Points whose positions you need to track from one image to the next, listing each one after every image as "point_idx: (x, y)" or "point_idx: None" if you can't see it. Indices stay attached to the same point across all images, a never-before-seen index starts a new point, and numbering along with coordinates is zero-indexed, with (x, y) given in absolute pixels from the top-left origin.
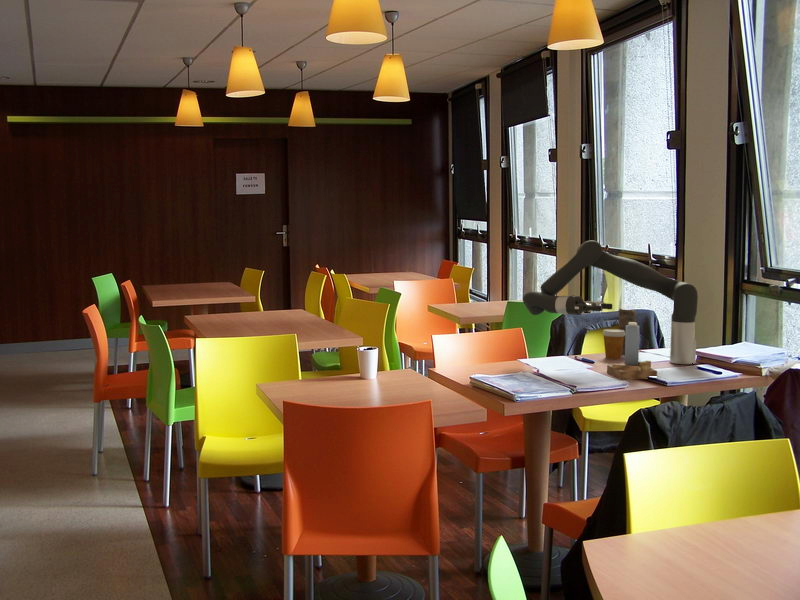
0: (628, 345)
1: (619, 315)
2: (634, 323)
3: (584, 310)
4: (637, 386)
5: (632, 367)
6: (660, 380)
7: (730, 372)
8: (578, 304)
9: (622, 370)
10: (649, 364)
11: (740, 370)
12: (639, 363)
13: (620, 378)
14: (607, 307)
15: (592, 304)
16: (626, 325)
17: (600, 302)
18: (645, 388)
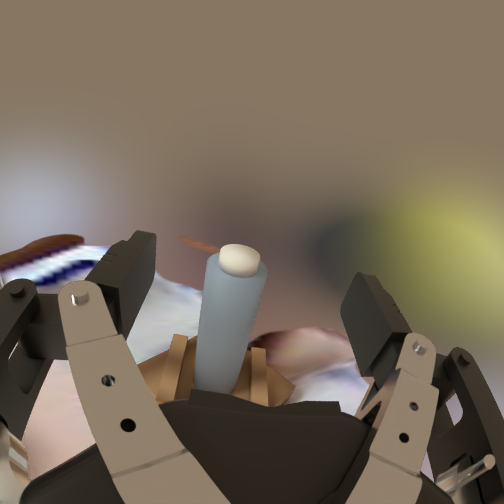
0: (250, 335)
1: None
2: (252, 249)
3: (447, 410)
4: (328, 349)
5: (265, 361)
6: None
7: (78, 251)
8: (498, 466)
9: (277, 388)
10: None
11: (57, 243)
12: (182, 360)
13: (287, 399)
14: (142, 290)
15: (255, 407)
16: (239, 283)
17: (19, 317)
18: (332, 334)
